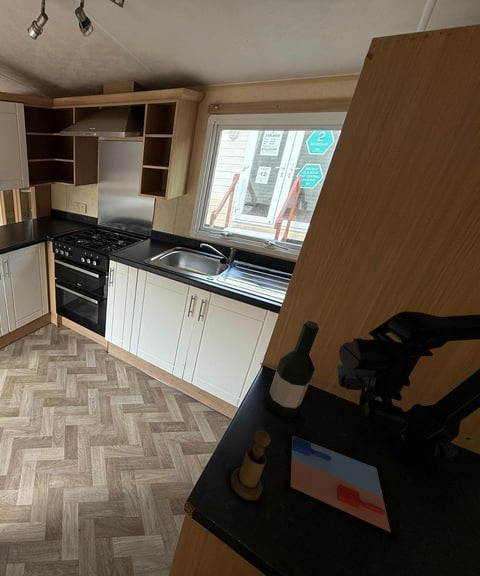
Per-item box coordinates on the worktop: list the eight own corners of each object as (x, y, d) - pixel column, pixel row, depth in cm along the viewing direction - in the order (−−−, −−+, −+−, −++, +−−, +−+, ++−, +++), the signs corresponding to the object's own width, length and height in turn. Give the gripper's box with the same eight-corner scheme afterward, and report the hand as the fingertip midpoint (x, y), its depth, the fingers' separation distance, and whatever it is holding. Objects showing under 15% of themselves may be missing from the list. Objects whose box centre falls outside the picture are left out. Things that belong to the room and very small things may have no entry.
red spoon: (382, 508, 68) (385, 503, 67) (384, 521, 66) (388, 516, 65) (336, 488, 72) (339, 483, 71) (337, 500, 69) (340, 495, 69)
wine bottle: (297, 404, 95) (331, 320, 82) (296, 423, 89) (332, 336, 75) (267, 393, 99) (294, 312, 86) (264, 410, 93) (292, 326, 79)
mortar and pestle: (264, 504, 69) (286, 451, 61) (233, 498, 70) (251, 445, 62) (256, 475, 75) (275, 423, 67) (228, 470, 76) (243, 418, 68)
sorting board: (375, 469, 76) (376, 468, 76) (389, 533, 64) (390, 532, 64) (291, 436, 85) (292, 435, 84) (289, 488, 72) (290, 486, 72)
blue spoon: (329, 455, 79) (332, 451, 78) (330, 465, 77) (333, 460, 76) (292, 441, 83) (294, 436, 82) (292, 450, 80) (294, 445, 80)
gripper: (342, 335, 78) (322, 382, 85) (351, 380, 64) (326, 432, 71) (400, 349, 73) (373, 398, 80) (424, 402, 59) (389, 456, 66)
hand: (364, 418), depth 74 cm, fingers open, 9 cm apart
